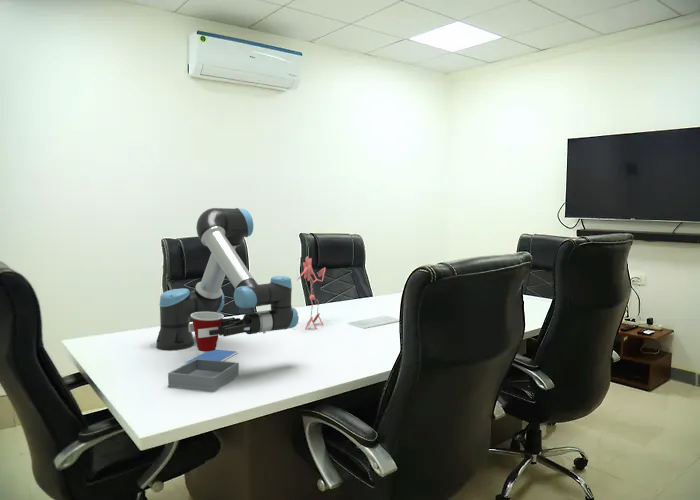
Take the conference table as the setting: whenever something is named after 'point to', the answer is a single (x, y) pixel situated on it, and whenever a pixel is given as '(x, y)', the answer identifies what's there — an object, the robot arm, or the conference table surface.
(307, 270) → the figurine
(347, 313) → the conference table surface
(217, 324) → the plastic cup
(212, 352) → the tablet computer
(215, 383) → the bin
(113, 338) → the conference table surface
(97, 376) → the conference table surface
